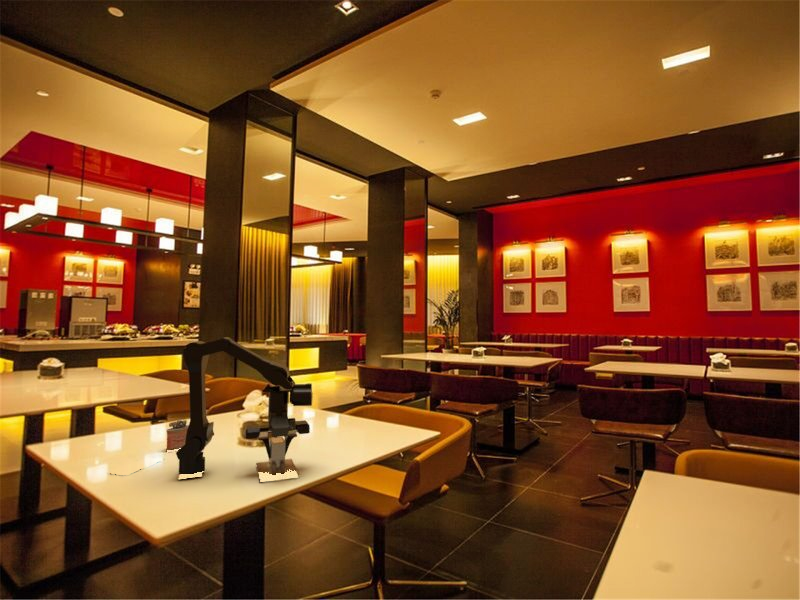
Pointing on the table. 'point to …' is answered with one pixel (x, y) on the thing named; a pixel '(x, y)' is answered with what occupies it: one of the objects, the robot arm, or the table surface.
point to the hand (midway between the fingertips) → (276, 457)
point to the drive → (277, 451)
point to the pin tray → (284, 467)
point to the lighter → (176, 434)
